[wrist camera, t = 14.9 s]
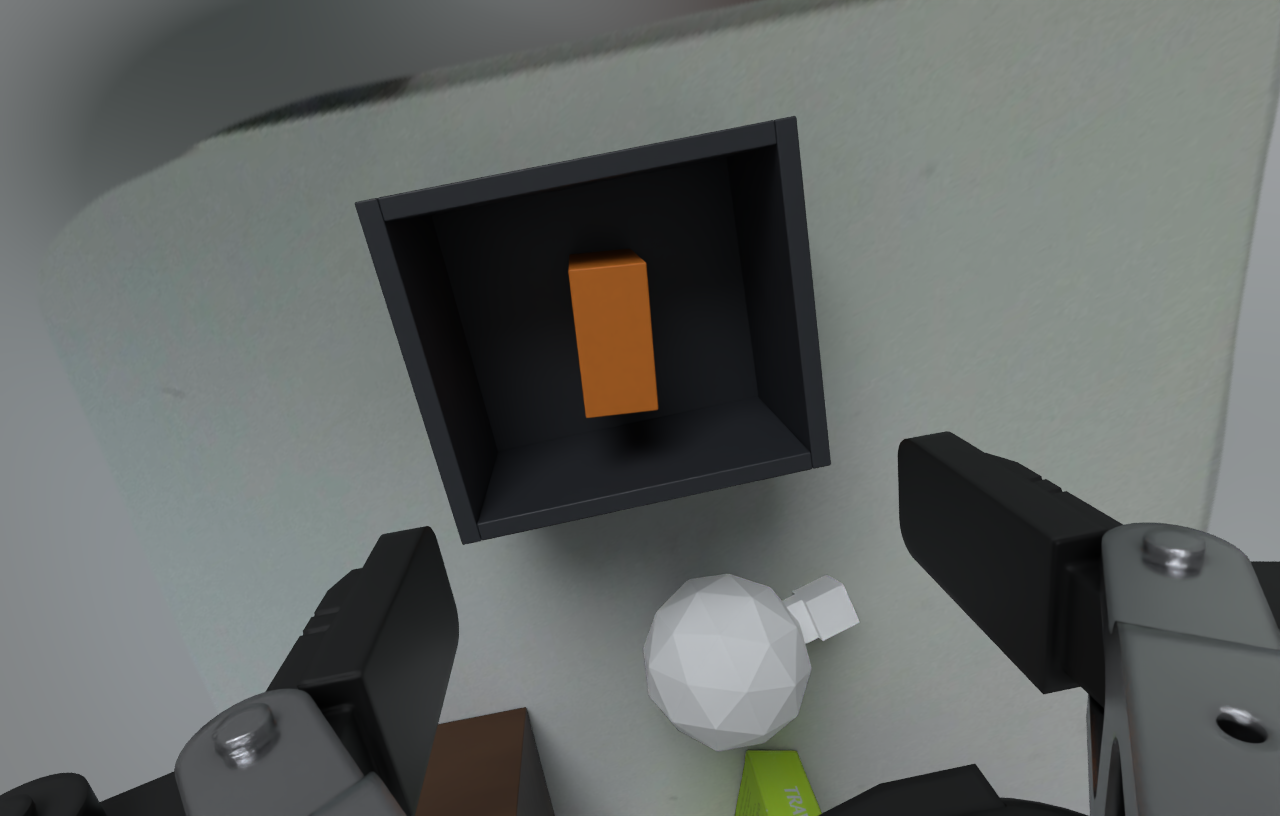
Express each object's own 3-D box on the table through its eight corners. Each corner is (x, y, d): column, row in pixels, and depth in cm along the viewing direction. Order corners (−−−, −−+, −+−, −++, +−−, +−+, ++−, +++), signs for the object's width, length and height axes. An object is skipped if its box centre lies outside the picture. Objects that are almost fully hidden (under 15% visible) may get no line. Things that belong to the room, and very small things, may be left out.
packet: (568, 254, 31) (568, 269, 24) (630, 248, 31) (646, 262, 25) (583, 374, 33) (585, 419, 26) (641, 367, 33) (658, 410, 27)
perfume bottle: (669, 729, 39) (843, 642, 41) (696, 820, 30) (919, 705, 32) (611, 599, 39) (787, 516, 40) (621, 652, 30) (847, 542, 31)
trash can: (489, 460, 35) (462, 545, 26) (414, 201, 31) (353, 202, 22) (769, 401, 36) (831, 465, 27) (735, 137, 31) (796, 115, 23)
